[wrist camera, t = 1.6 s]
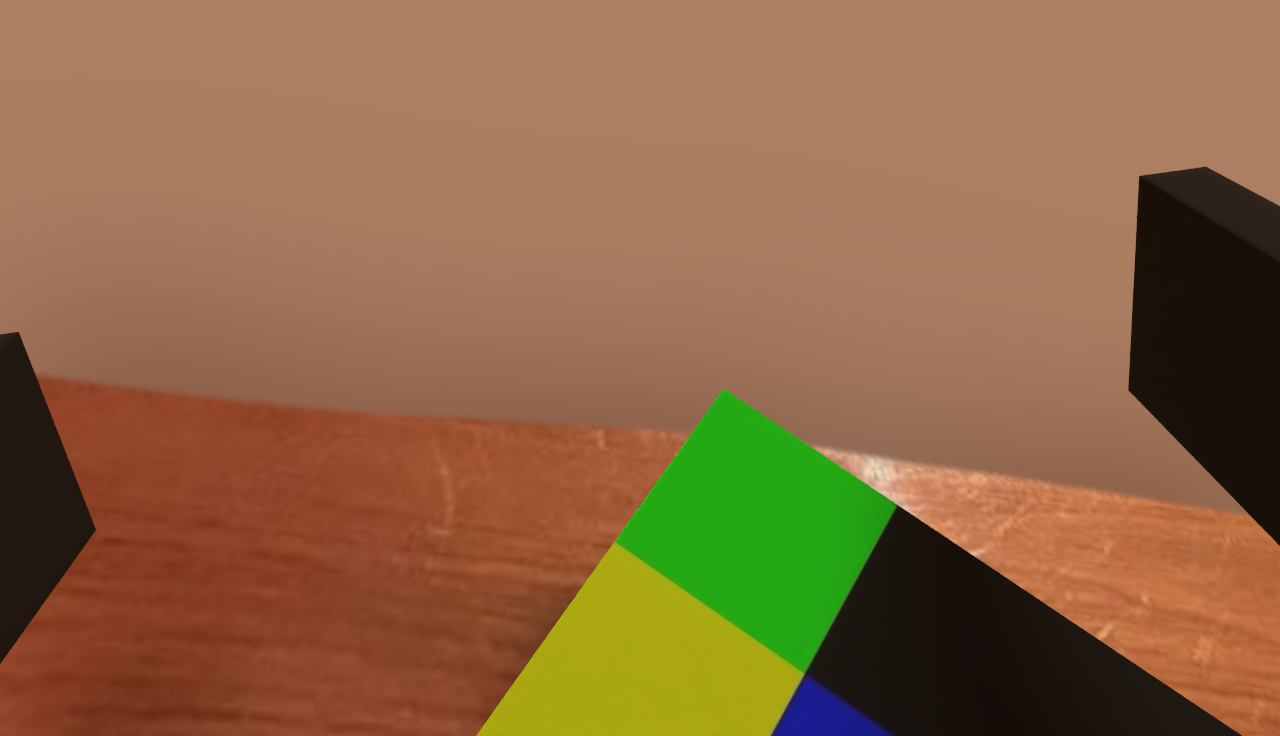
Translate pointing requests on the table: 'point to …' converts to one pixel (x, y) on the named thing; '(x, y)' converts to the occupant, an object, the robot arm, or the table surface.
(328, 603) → the table surface
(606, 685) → the puzzle toy
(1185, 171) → the robot arm
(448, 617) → the table surface
